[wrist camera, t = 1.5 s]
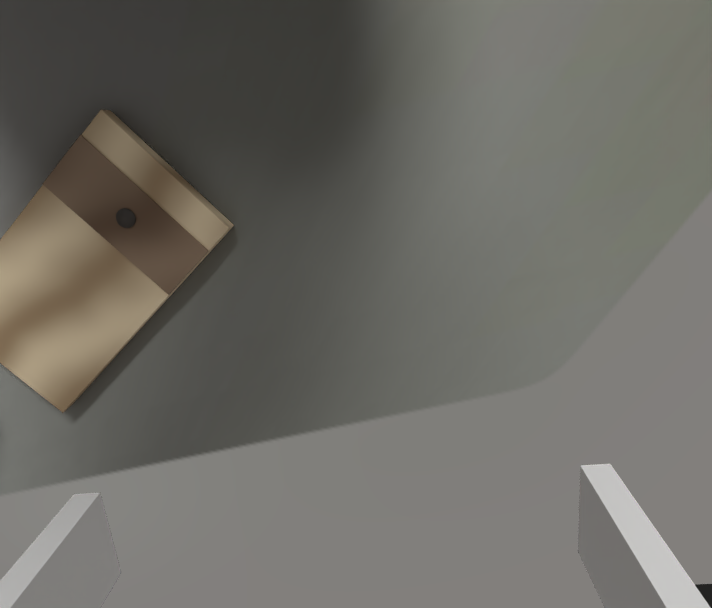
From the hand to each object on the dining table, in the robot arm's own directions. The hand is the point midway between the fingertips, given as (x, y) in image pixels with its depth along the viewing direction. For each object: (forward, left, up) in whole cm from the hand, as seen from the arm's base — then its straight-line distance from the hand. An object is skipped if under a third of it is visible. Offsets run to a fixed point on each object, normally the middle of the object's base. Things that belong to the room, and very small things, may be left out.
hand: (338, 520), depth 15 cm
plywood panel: (-14, -11, -22) cm, 29 cm away
